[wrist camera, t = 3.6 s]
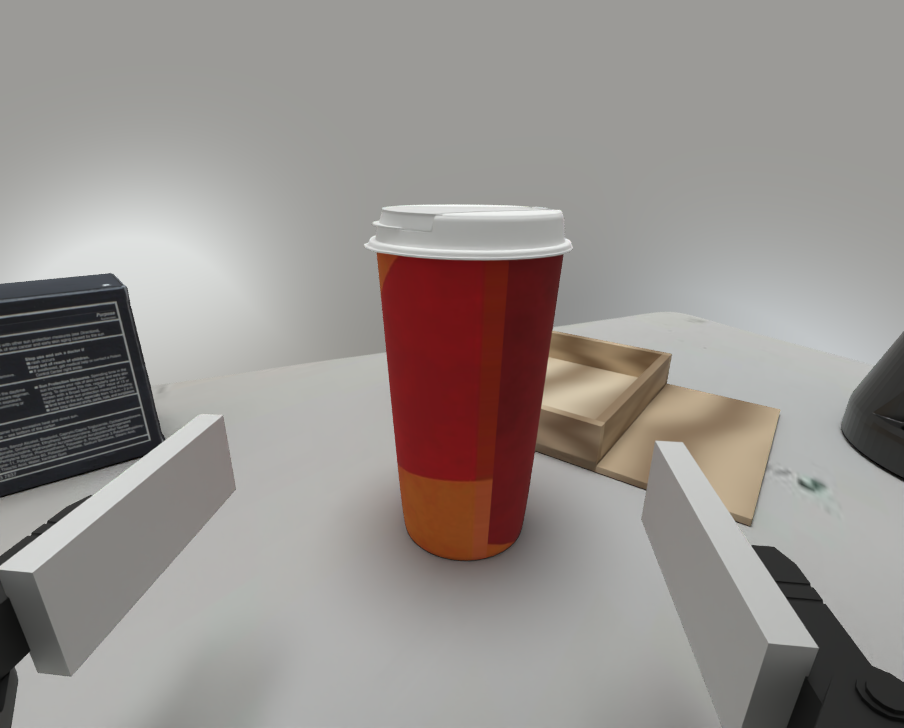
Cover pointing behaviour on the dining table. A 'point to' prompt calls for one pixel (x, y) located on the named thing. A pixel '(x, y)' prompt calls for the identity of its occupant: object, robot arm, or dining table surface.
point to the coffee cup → (467, 363)
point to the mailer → (648, 420)
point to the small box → (70, 381)
